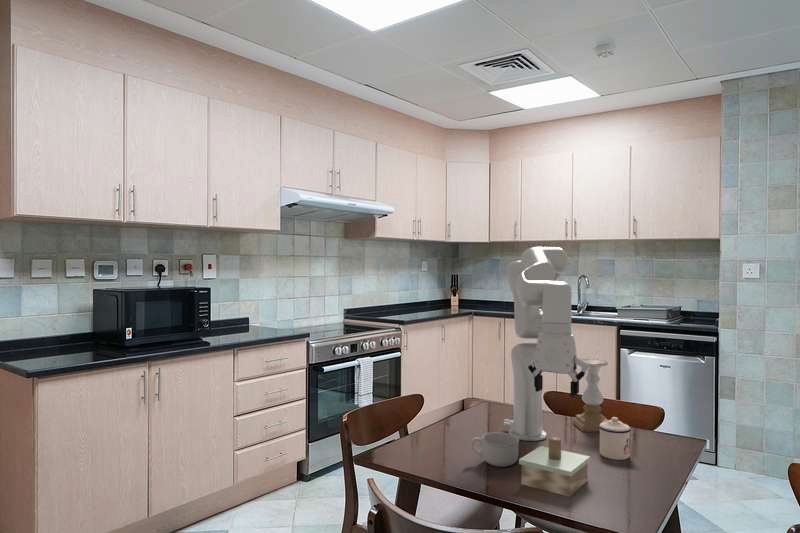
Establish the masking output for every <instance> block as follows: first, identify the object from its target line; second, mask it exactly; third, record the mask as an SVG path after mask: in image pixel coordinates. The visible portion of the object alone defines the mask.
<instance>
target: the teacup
mask: <svg viewBox="0 0 800 533" xmlns="http://www.w3.org/2000/svg"><path fill="white" fill-rule="evenodd" d="M475 442H479V445H480V447H481V450H479V449H477V448H476V446H475ZM519 442H520V440H519V439H518V438H517V437H516V436H514V435H512V434H509V432H502V431H501V432H500V431H494V432H493V431H492V432H487V433H486V432H485V433H484V434H483V435H482V437H478V436H475V437H473V438H471V439H470V447H471V449H472V451H473V452H475V453H476V454H478V455H479V456H480V457H481V459H483V460H484V461H485V462H486V463H487V464H489V465H490V466H493V467H497V468H504V467H510V466H512V465H514V464H515V463H516V462H517V460H518V458H519Z"/></svg>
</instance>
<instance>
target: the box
mask: <svg viewBox="0 0 800 533" xmlns="http://www.w3.org/2000/svg"><path fill="white" fill-rule="evenodd" d="M588 463H589V462H588ZM588 463H587V464H586V465H584V466H583V467H582V468H581V469H580V470H578V471H577V472H576V473H575V474H573V475H572V476H571V477H570V476H566V475H562V474H558V473H554V472H550V471H546V470H542V469H538V468H533V467H529V466H525V465H521V466H520V467H521V477H520V478H521V480H520V482H521V483H520V484H521V485H523V486H527V487H530V488H533V489H539V490H543V491H546V492H550V493H554V494H557V495H560V496H561V495H562V496H565V497H567V498H568V497H569V498H570V497H571V496H572V495H573V494H575V493H576V492H577V491H578V490H579V489H580V488H581V487H582V486H584V485H585V483H587V482H588V473H589V472H588V471H589V470H588Z"/></svg>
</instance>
